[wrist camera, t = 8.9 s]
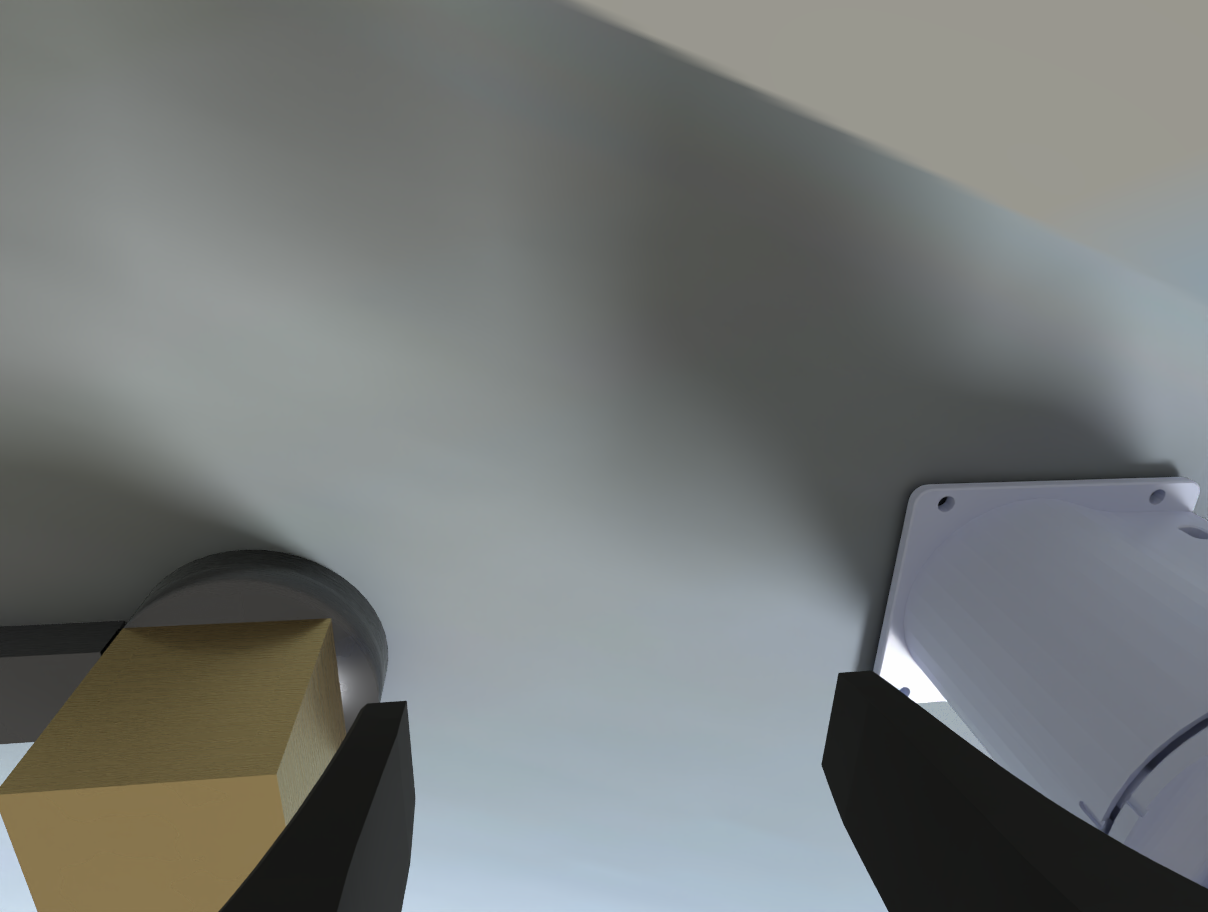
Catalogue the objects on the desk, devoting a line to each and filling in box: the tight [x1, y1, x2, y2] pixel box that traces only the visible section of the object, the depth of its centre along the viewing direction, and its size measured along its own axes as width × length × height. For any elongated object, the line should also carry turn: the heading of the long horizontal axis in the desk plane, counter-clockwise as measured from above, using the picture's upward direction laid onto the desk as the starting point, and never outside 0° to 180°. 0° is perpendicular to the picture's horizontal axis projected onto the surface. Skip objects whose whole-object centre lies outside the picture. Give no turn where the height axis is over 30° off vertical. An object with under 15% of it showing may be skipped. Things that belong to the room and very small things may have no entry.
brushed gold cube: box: [0, 618, 346, 912], centre depth 17 cm, size 5×5×5 cm
